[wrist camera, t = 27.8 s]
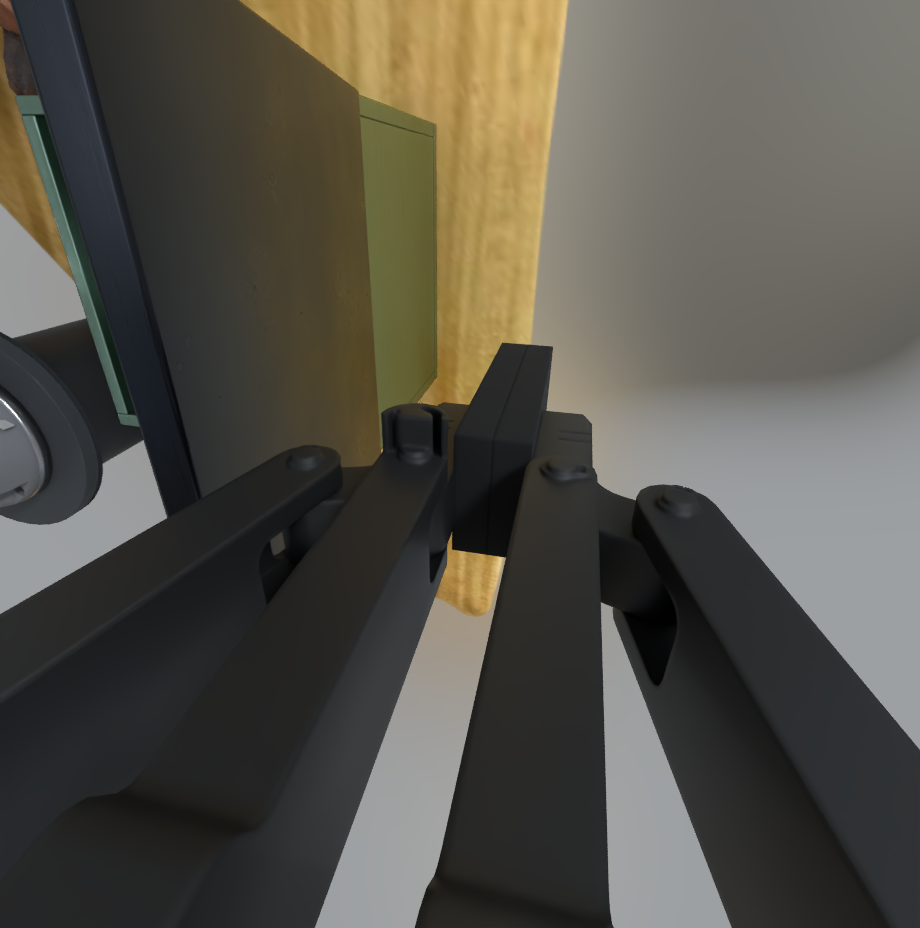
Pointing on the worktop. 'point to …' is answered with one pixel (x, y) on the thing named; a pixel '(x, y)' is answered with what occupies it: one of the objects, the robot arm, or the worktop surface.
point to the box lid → (215, 228)
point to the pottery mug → (15, 54)
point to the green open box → (389, 245)
